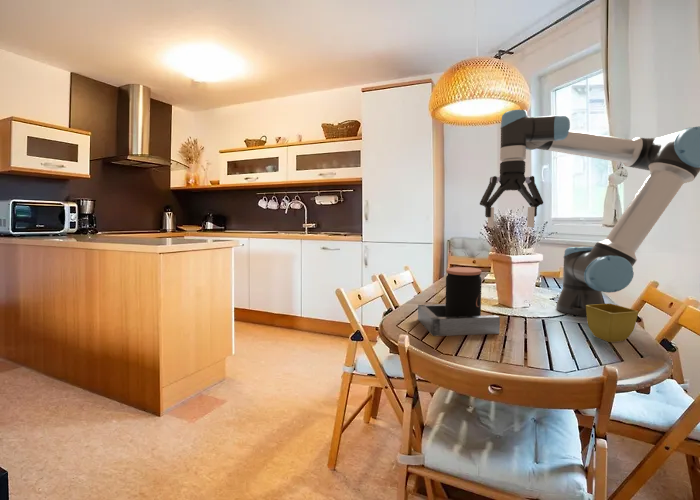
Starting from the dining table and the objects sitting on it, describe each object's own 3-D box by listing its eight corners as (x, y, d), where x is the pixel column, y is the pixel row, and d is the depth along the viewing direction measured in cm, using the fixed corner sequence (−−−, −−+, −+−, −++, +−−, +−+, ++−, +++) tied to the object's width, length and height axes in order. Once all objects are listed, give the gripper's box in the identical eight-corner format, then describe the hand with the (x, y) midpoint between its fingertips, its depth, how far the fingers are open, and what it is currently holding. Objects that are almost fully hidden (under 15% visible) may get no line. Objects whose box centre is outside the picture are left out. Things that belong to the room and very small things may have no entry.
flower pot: (637, 343, 99) (639, 310, 98) (610, 346, 97) (612, 313, 96) (608, 333, 107) (610, 303, 106) (583, 335, 106) (584, 304, 105)
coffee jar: (482, 332, 110) (484, 272, 108) (446, 330, 112) (447, 271, 110) (477, 321, 120) (479, 267, 118) (444, 320, 122) (445, 266, 120)
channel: (475, 317, 125) (476, 303, 124) (499, 333, 108) (499, 317, 107) (418, 319, 123) (418, 304, 123) (432, 336, 107) (433, 319, 106)
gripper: (542, 162, 122) (540, 226, 125) (470, 162, 121) (469, 227, 123) (557, 159, 115) (554, 226, 117) (479, 159, 113) (478, 228, 115)
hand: (510, 227), depth 120 cm, fingers open, 13 cm apart
